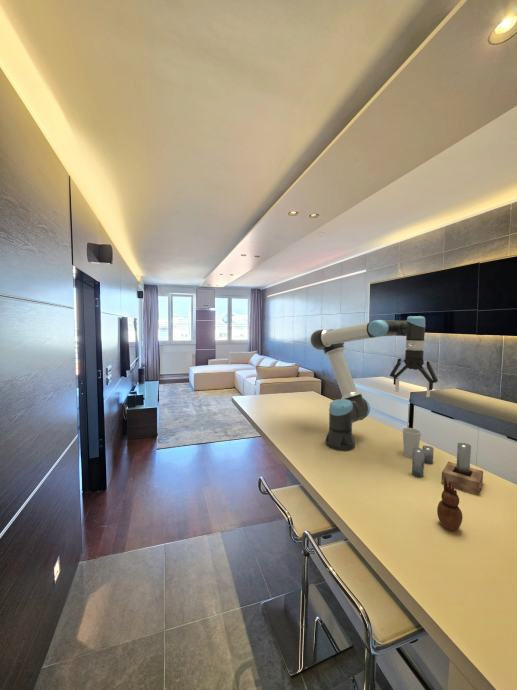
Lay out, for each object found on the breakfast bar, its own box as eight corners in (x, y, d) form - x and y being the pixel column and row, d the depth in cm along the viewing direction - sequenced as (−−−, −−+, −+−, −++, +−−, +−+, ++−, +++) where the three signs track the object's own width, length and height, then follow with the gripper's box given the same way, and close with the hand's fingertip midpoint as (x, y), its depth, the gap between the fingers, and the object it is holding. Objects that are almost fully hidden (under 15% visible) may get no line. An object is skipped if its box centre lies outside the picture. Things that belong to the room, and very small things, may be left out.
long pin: (454, 483, 118) (456, 445, 117) (456, 479, 122) (458, 441, 121) (467, 487, 115) (470, 448, 114) (469, 483, 119) (471, 444, 118)
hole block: (441, 483, 118) (441, 471, 118) (447, 472, 127) (448, 461, 127) (478, 495, 110) (479, 482, 110) (482, 483, 119) (483, 471, 119)
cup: (422, 458, 140) (423, 434, 139) (404, 457, 142) (405, 433, 141) (417, 451, 148) (417, 428, 147) (399, 450, 150) (400, 427, 149)
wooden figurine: (433, 519, 97) (435, 475, 96) (449, 518, 97) (451, 474, 96) (447, 534, 90) (450, 487, 89) (465, 533, 90) (468, 486, 89)
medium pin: (410, 475, 125) (411, 450, 124) (413, 471, 128) (414, 446, 128) (421, 478, 122) (422, 453, 121) (424, 474, 125) (425, 449, 125)
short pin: (420, 462, 137) (421, 447, 136) (423, 459, 140) (424, 444, 139) (431, 465, 134) (432, 450, 133) (434, 462, 137) (434, 447, 136)
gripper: (384, 347, 143) (382, 390, 145) (443, 352, 126) (440, 400, 128) (390, 347, 149) (387, 388, 150) (447, 351, 131) (444, 397, 133)
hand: (411, 394), depth 139 cm, fingers open, 13 cm apart
